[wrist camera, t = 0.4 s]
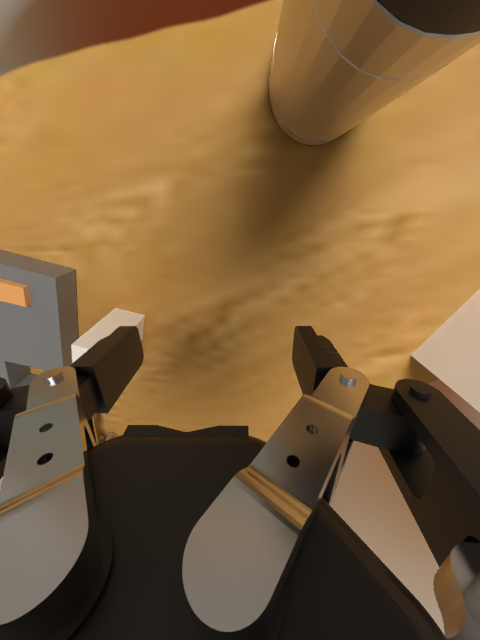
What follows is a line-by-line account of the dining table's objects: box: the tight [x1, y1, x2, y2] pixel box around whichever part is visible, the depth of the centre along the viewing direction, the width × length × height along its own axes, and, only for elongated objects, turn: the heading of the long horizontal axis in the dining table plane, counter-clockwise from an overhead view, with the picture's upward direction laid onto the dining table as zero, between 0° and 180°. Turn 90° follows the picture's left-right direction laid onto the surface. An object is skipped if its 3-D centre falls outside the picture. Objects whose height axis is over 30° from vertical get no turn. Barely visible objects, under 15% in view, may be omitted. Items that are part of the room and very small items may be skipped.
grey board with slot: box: [0, 250, 79, 388], centre depth 32 cm, size 22×10×4 cm, turn 164°
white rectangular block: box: [71, 308, 145, 363], centre depth 29 cm, size 4×4×9 cm
